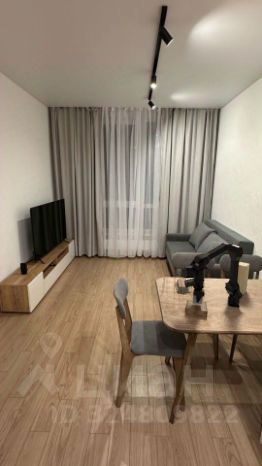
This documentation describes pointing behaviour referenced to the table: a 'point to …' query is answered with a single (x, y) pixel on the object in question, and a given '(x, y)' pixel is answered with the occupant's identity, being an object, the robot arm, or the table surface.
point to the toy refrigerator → (243, 276)
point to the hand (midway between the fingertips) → (197, 300)
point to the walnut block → (196, 309)
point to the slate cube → (195, 300)
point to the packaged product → (182, 286)
